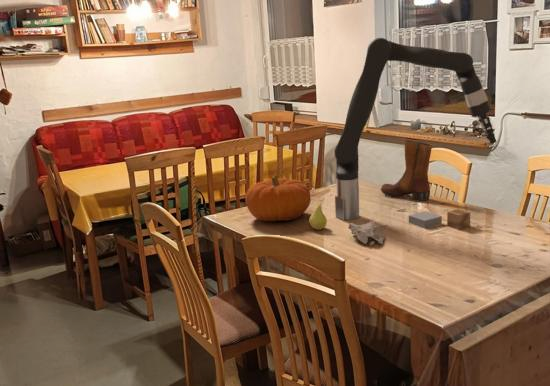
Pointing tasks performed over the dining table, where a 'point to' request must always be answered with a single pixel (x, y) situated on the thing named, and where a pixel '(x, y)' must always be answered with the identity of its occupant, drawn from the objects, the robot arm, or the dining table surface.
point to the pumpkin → (278, 199)
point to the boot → (413, 173)
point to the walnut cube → (458, 219)
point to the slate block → (425, 219)
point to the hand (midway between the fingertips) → (492, 140)
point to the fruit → (318, 218)
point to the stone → (367, 232)
